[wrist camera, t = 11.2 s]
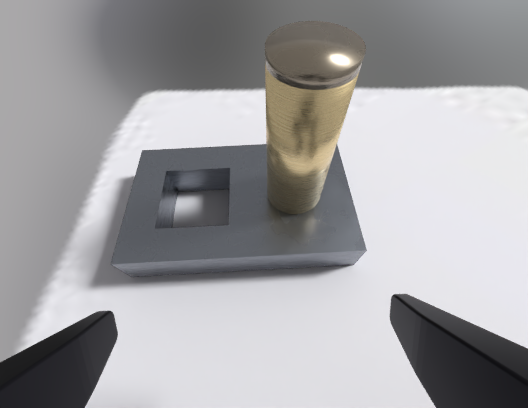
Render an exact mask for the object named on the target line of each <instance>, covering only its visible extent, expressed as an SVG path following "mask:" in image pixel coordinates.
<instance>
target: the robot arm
mask: <svg viewBox="0 0 528 408" xmlns="http://www.w3.org/2000/svg"><path fill="white" fill-rule="evenodd" d="M390 321H391V324H392V327H393V329H394V331H395V333H396V335H397V337H398V339H399V341H400V343H401V345H402V347H403V349H404V351H405V353H406V355H407V357H408V359H409V361H410V364H411V366H412V367H413V369H414V371H415V373H416V375H417V377H418V378H419V380H420V382H421V383H422V385H423V387H424V388H425V390H426V392H427V393H428V395H429V397H430V398H431V400H432V402H433V403H434V405H435V407H436V408H528V349H527V348H525V347H523V346H521V345H518V344H516V343H514V342H512V341H510V340H507V339H505V338H503V337H501V336H498V335H496V334H494V333H492V332H490V331H487V330H485V329H483V328H481V327H479V326H476V325H474V324H472V323H470V322H467V321H465V320H463V319H461V318H459V317H456V316H454V315H452V314H450V313H447V312H445V311H443V310H441V309H439V308H436V307H434V306H432V305H430V304H428V303H425V302H423V301H421V300H419V299H416V298H414V297H412V296H410V295H408V294H394V295H393V296H392V298H391V308H390ZM117 336H118V332H117V327H116V323H115V318H114V314H113V312H111V311H98V312H96V313H94V314H92V315H90V316H88V317H86V318H84V319H82V320H80V321H78V322H76V323H75V324H73V325H71V326H69V327H67V328H65V329H63V330H61V331H59V332H57V333H56V334H54V335H52V336H50V337H48V338H46V339H44V340H42V341H40V342H38V343H36V344H35V345H33V346H31V347H29V348H27V349H25V350H23V351H21V352H19V353H17V354H16V355H14V356H12V357H10V358H8V359H6V360H4V361H2V362H0V408H85V406H86V404H87V402H88V400H89V399H90V397H91V395H92V393H93V391H94V389H95V387H96V385H97V383H98V380H99V378H100V376H101V374H102V372H103V369H104V367H105V365H106V363H107V361H108V358H109V356H110V354H111V352H112V349H113V347H114V345H115V343H116V340H117Z"/></svg>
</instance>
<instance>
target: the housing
mask: <svg viewBox="0 0 528 408" xmlns="http://www.w3.org/2000/svg"><path fill="white" fill-rule="evenodd" d="M217 189H230V193H229V225H217V226H198V227H180V228H172V223H173V217H174V210H175V204H176V198H177V192H179V191H198V190H217ZM366 251H367V250H366V247H365V243H364V239H363V236H362V232H361V229H360V225H359V221H358V218H357V214H356V211H355V207H354V204H353V200H352V196H351V193H350V189H349V186H348V182H347V178H346V175H345V171H344V168H343V164H342V160H341V157H340V153H339V150H338V146H337V145H336V148H335V151H334V154H333V157H332V161H331V164H330V167H329V170H328V173H327V177H326V180H325V183H324V186H323V189H322V192H321V196H320V199H319V201H318V203H317V205H316V206H315V207H314V208H313V209H311V210H310V211H308V212H305V213H302V214H288V213H285V212H282V211H280V210H278V209H277V208H276V207H274V206H273V205H272V203H271V202H270V200H269V198H268V194H267V144H262V145H242V146H222V147H202V148H182V149H162V150H142V153H141V157H140V161H139V164H138V168H137V171H136V175H135V179H134V182H133V186H132V189H131V193H130V197H129V200H128V204H127V207H126V211H125V215H124V218H123V222H122V225H121V229H120V233H119V236H118V240H117V243H116V247H115V251H114V254H113V258H112V261H111V265H112V266H114V267H116V268H117V269H119V270H121V271H123V272H124V273H126V274H128V275H129V276H131V277H139V276H158V275H176V274H194V273H212V272H230V271H248V270H267V269H285V268H303V267H321V266H339V265H354V264H355V263H356V262H357V261H358V260H359V258H360V257H361V256H362V255H363V254H364V253H365V252H366Z"/></svg>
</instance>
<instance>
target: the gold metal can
mask: <svg viewBox="0 0 528 408" xmlns="http://www.w3.org/2000/svg"><path fill="white" fill-rule="evenodd" d="M365 51H366V47H365V43H364V41H363V40H362V38H361V37H360V36H359V35H358V34H356V33H355V32H354V31H352V30H350V29H348V28H346V27H343V26H341V25H337V24H333V23H329V22H321V21H305V22H296V23H292V24H288V25H285V26H282V27H280V28H278V29H276V30H275V31H273V32H272V33H271V34H270V35H269V36H268V38H267V39H266V42H265V72H266V73H265V76H266V143H267V194H268V198H269V200H270V202H271V203H272V205H273V206H274V207H276V208H277V209H278V210H280V211H282V212H285V213H288V214H302V213H305V212H308V211H310V210H311V209H313V208H314V207H315V206H316V205H317V203H318V201H319V199H320V196H321V192H322V189H323V186H324V183H325V180H326V177H327V173H328V170H329V167H330V164H331V161H332V157H333V154H334V151H335V148H336V145H337V141H338V138H339V135H340V132H341V129H342V125H343V122H344V119H345V116H346V113H347V109H348V106H349V103H350V100H351V97H352V93H353V90H354V87H355V84H356V81H357V77H358V74H359V71H360V68H361V65H362V61H363V58H364V55H365Z"/></svg>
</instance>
